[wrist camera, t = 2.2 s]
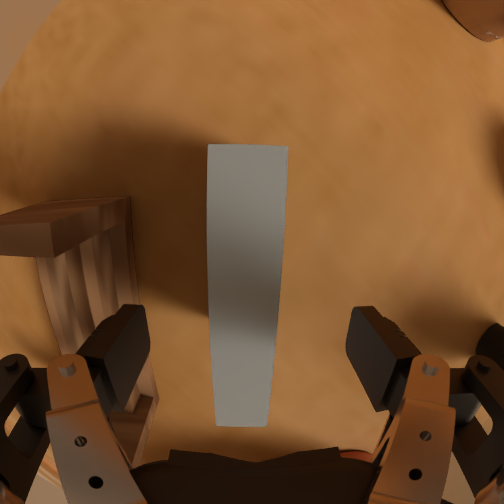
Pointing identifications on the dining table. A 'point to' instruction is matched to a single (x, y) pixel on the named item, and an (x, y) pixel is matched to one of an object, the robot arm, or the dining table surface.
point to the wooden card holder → (86, 284)
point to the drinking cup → (493, 345)
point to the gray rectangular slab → (244, 275)
